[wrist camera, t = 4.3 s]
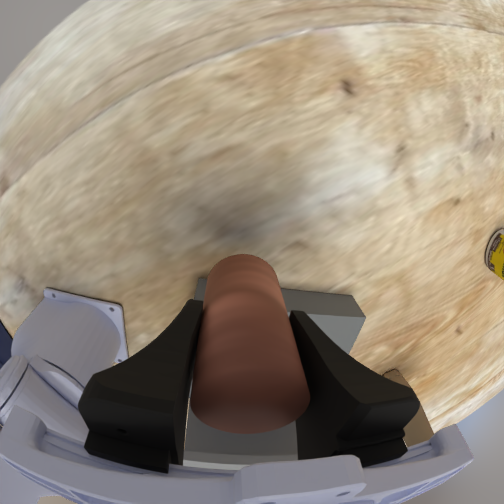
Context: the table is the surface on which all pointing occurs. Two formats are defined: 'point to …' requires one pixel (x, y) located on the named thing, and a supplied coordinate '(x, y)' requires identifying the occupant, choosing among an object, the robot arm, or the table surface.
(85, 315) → the robot arm
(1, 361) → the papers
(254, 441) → the socket stand
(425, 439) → the handle
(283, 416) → the peg
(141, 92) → the table surface
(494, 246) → the supplement bottle
